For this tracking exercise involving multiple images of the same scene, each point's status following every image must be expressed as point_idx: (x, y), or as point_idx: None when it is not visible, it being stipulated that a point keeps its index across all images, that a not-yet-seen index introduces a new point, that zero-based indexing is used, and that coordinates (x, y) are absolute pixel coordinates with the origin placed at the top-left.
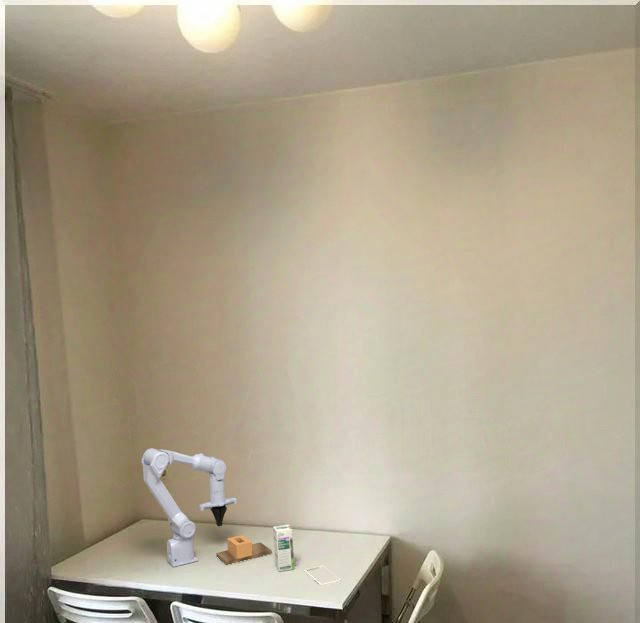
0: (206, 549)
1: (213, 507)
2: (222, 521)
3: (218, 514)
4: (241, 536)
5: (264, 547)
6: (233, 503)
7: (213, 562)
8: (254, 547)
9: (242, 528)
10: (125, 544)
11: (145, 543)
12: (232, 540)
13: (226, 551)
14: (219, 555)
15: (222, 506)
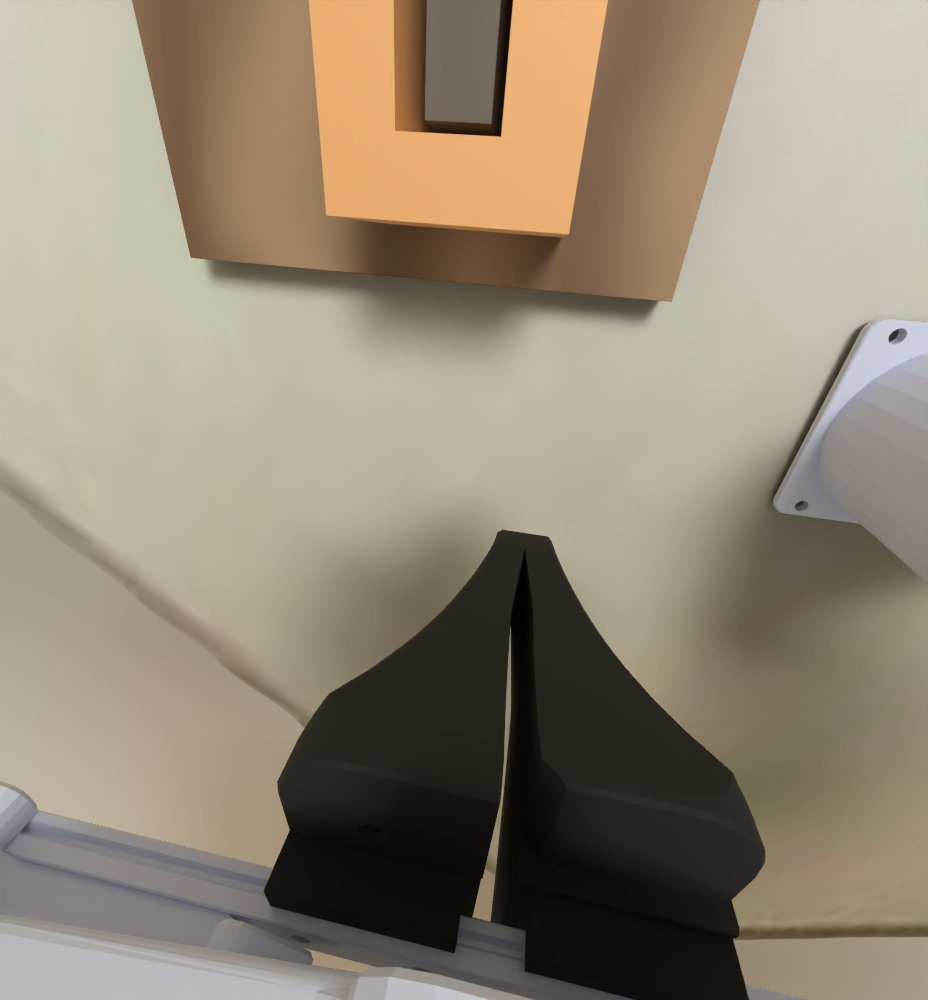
0: (605, 518)
1: (706, 996)
2: (484, 559)
3: (577, 678)
4: (353, 150)
5: (170, 38)
6: (37, 818)
7: (796, 154)
8: (274, 139)
9: (259, 637)
10: (857, 854)
11: (783, 808)
12: (560, 42)
13: (568, 261)
14: (702, 189)
15: (381, 875)
